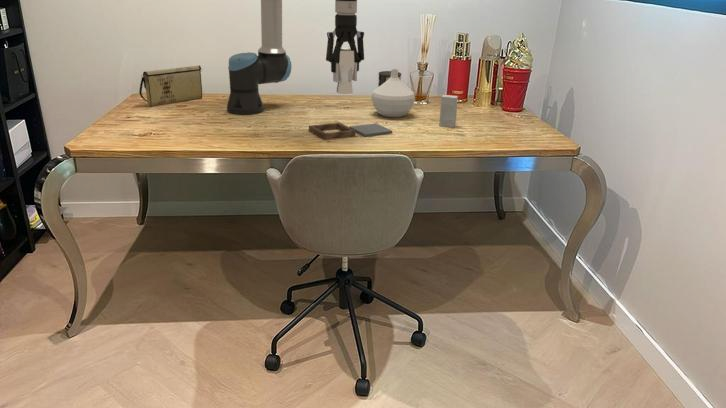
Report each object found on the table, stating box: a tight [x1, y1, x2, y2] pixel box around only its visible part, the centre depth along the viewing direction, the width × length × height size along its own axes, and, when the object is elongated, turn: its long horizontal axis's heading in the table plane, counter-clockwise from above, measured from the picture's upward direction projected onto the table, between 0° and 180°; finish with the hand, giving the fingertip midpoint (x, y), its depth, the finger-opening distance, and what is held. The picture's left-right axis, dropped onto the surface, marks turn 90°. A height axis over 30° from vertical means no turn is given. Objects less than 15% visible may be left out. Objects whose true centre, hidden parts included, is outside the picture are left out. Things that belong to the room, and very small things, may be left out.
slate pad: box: [348, 123, 393, 138], centre depth 209 cm, size 12×12×1 cm
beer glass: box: [336, 48, 355, 95], centre depth 196 cm, size 7×7×15 cm
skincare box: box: [439, 94, 459, 128], centre depth 218 cm, size 6×4×12 cm
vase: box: [371, 68, 416, 118], centre depth 230 cm, size 18×18×19 cm
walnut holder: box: [308, 121, 357, 141], centre depth 204 cm, size 13×13×2 cm
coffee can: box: [377, 70, 402, 88], centre depth 251 cm, size 10×10×14 cm
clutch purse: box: [138, 65, 203, 107], centre depth 240 cm, size 30×7×15 cm, turn 139°
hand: (344, 80), depth 198 cm, fingers closed on beer glass, 7 cm apart
